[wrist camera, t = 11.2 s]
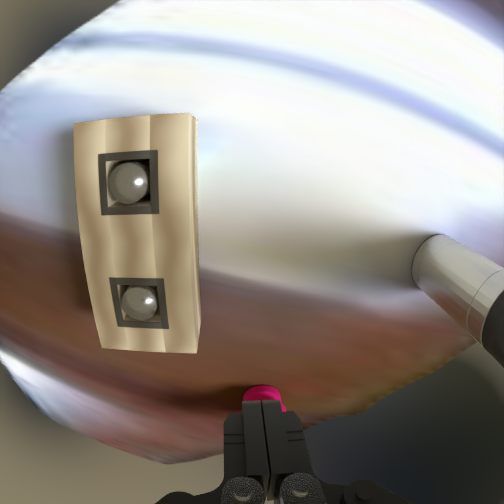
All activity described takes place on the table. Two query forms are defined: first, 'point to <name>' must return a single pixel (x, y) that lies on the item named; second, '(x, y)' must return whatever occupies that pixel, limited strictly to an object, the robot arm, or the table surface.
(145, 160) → the peg
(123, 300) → the peg
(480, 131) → the table surface
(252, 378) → the table surface
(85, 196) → the collar block
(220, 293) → the table surface
